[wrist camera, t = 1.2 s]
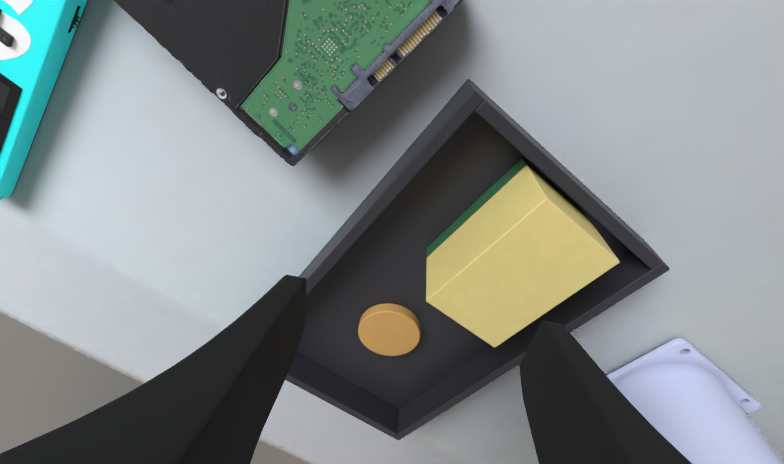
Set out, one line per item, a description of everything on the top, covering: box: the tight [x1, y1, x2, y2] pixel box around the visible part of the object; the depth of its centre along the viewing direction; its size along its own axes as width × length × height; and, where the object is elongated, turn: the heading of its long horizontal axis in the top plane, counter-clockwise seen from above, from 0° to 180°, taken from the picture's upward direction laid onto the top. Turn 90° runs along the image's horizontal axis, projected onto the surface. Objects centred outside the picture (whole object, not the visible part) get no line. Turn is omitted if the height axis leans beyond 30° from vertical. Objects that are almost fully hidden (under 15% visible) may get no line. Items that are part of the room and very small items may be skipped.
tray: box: [285, 79, 669, 440], centre depth 23 cm, size 13×21×3 cm, turn 142°
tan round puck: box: [358, 303, 421, 356], centre depth 24 cm, size 4×4×1 cm
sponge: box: [426, 158, 620, 348], centre depth 18 cm, size 4×7×4 cm, turn 142°
